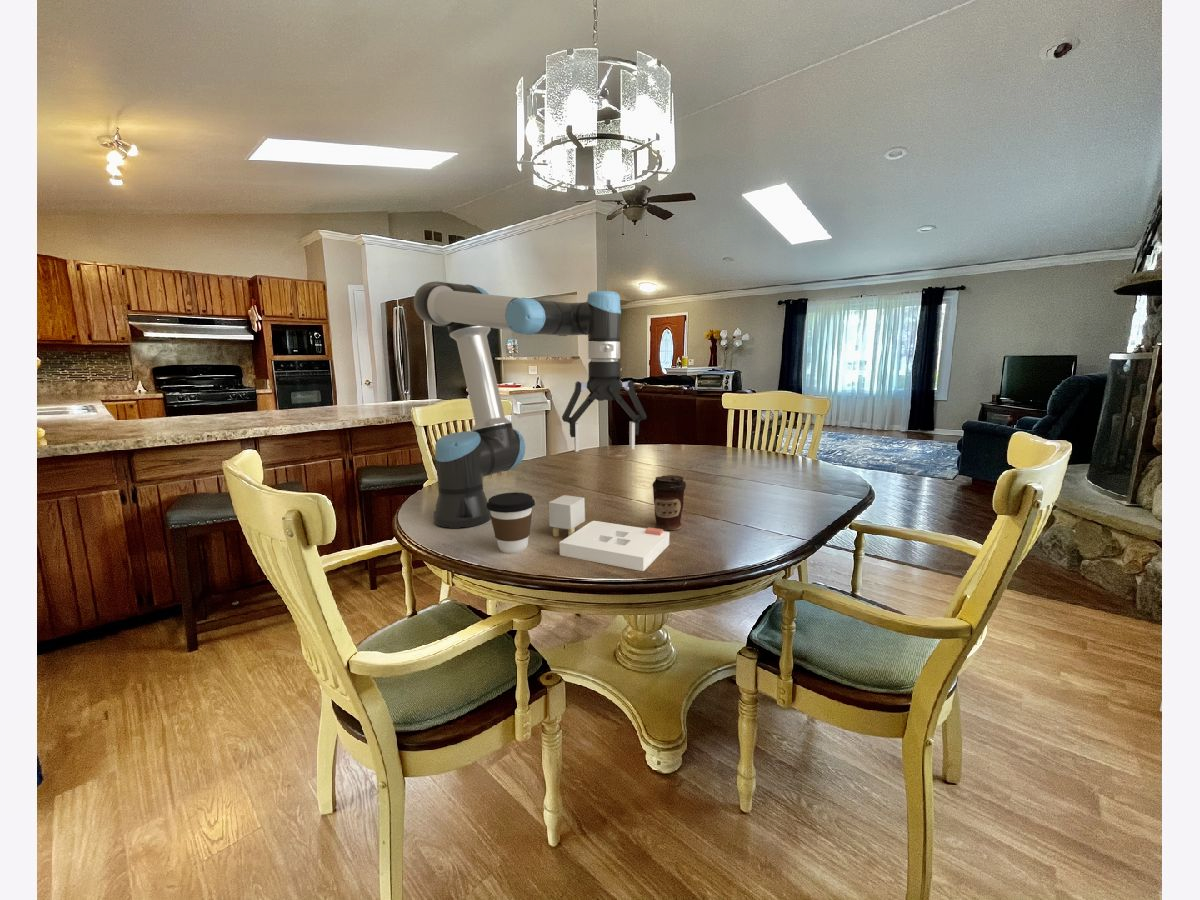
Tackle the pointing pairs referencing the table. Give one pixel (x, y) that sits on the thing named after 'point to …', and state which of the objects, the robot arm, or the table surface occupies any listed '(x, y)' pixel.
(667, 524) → the coffee cup
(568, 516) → the plug
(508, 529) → the coffee cup
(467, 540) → the table surface
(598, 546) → the socket plate
